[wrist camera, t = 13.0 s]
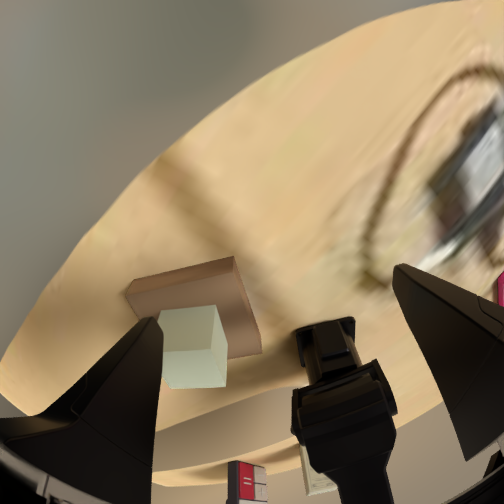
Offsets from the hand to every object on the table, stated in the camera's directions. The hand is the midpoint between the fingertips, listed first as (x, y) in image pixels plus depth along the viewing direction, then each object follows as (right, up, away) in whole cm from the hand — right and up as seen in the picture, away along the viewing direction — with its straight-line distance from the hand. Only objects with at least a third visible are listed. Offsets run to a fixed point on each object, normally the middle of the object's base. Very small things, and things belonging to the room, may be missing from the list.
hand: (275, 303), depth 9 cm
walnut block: (-6, -4, +17) cm, 19 cm away
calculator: (-2, -51, +43) cm, 66 cm away
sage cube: (-6, -5, +15) cm, 17 cm away
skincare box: (+12, -38, +36) cm, 54 cm away
